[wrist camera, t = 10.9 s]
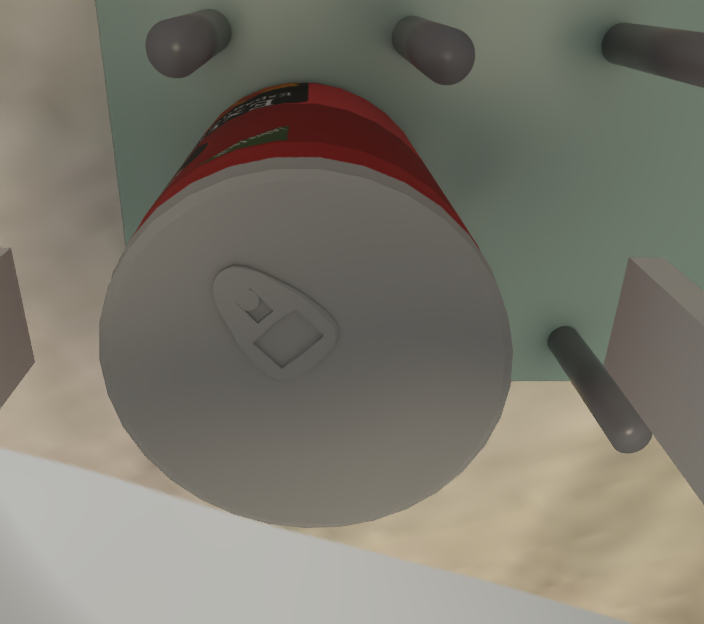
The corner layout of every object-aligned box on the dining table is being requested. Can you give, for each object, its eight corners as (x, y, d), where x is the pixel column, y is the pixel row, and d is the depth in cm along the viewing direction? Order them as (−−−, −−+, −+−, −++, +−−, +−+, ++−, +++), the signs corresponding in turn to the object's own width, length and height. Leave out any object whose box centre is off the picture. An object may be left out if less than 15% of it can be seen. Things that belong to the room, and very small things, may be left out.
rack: (901, -11, 21) (1148, -9, 15) (767, 367, 27) (903, 481, 21) (100, -41, 20) (1, -52, 13) (148, 368, 26) (96, 491, 20)
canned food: (267, 24, 20) (225, 65, 10) (474, 172, 22) (607, 323, 12) (147, 230, 22) (20, 425, 13) (344, 343, 25) (369, 582, 15)
